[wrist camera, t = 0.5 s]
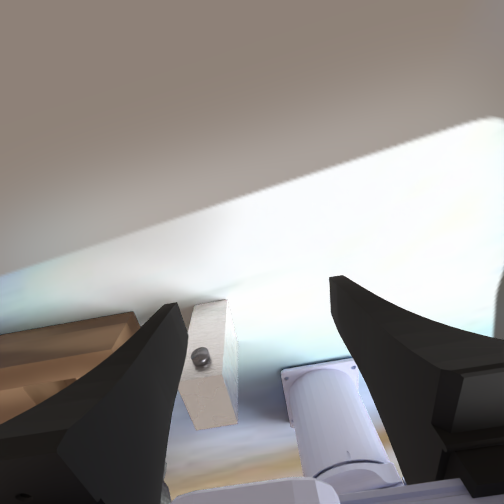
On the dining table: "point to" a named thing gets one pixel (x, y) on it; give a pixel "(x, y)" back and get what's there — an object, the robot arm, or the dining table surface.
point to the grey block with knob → (211, 367)
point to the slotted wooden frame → (55, 358)
